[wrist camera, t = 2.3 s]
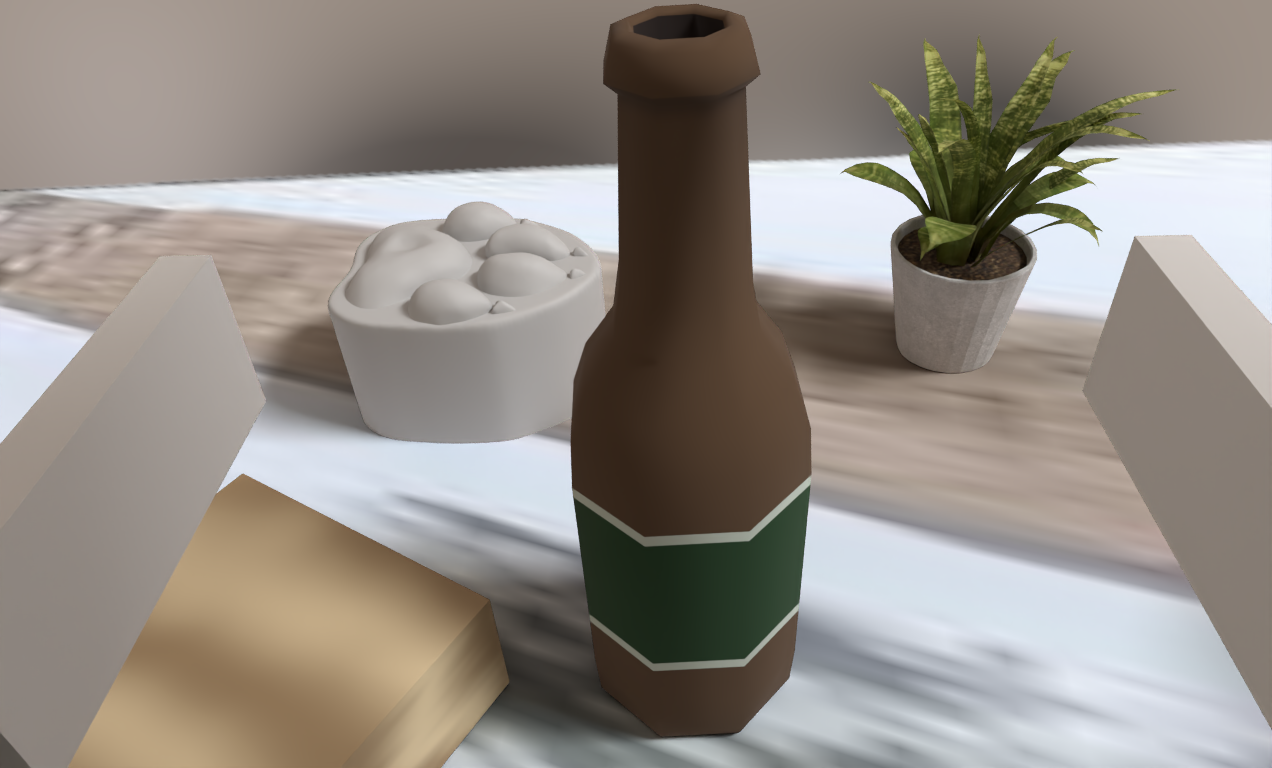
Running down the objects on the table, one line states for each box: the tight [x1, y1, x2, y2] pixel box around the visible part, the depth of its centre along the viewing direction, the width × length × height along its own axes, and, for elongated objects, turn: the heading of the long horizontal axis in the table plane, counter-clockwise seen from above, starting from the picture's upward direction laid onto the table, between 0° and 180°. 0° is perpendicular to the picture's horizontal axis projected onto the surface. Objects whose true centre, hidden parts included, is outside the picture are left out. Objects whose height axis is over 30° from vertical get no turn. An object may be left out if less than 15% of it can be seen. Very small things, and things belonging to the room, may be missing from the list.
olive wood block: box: [68, 474, 509, 768], centre depth 32 cm, size 13×13×5 cm
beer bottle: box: [571, 4, 811, 737], centre depth 28 cm, size 8×8×24 cm
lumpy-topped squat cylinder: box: [328, 202, 606, 443], centre depth 47 cm, size 10×13×9 cm
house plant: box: [840, 37, 1174, 373], centre depth 44 cm, size 14×14×16 cm
